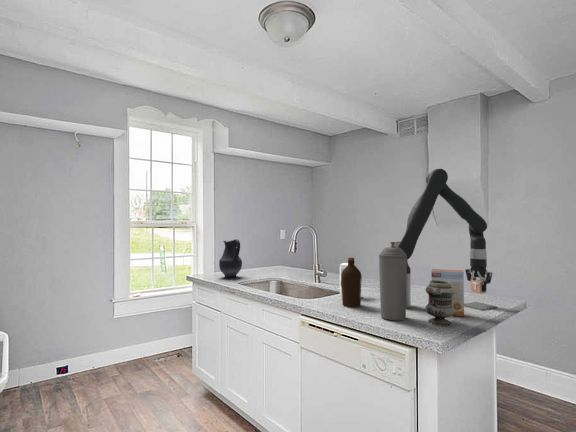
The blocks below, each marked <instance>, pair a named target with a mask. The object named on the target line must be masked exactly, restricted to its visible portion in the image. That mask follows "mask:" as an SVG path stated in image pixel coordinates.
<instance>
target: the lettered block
mask: <svg viewBox="0 0 576 432" xmlns="http://www.w3.org/2000/svg"><path fill="white" fill-rule="evenodd" d="M470 292H471V293H473V294H477V295H483V294H487V290H486V291H485V292H482V282H481V280H480V279H476V280H471V282H470Z"/></svg>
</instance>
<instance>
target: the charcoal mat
mask: <svg viewBox="0 0 576 432" xmlns="http://www.w3.org/2000/svg"><path fill="white" fill-rule="evenodd" d="M464 308H471V309H475V310H478V311H480V312H481V311H482V312H483V311H486V310H494V309H498V306H496V305H492V304H490V303H489V304H488V303H483V302H479V301H472V302H466V303H465V302H464Z"/></svg>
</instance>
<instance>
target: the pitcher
mask: <svg viewBox="0 0 576 432" xmlns="http://www.w3.org/2000/svg"><path fill="white" fill-rule="evenodd" d="M223 243H224V249H223V252H222V255H221V258H220V259H219V260H218V261H219V263H218V265H219V269H220V270H219V271H220V272H221V273H222V274H223V275H224V279H226V278H229V279H228V280H231V279H230V278H234V279H237V278H238V276H237V275H238V274H239V273H240V271H241V270H242V266H243V260H242V259H241V257H240V251H241V241H240V240H239V239H237V238H236V239H235V238H234V239H231V240H228V241H226V240H223Z"/></svg>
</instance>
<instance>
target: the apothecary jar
mask: <svg viewBox="0 0 576 432" xmlns="http://www.w3.org/2000/svg"><path fill="white" fill-rule="evenodd" d="M425 292H426V294H427V295H428V303H427V304H426V305H425V307H424V310H425V312H426V313H427V314H428V315H430V316H432V318H429V319H428V320H427V322H428V323H429V324H431V323H432V324H431V325H434V324H435V326H438V325H443V326H442V327H447V326H452V325H453V322H452V321H451V320H449V319H446V318H450V317H454V316H453V315H454V314H455V309H454V307H453V306H452V296H453V295H454V294H455V290H454V289H453V288H452V287H451V283H450V282H448V281H443V280H432V279H431V280H430V281H429V284H428V285H427V286H426V287H425ZM446 325H447V326H446Z"/></svg>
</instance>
